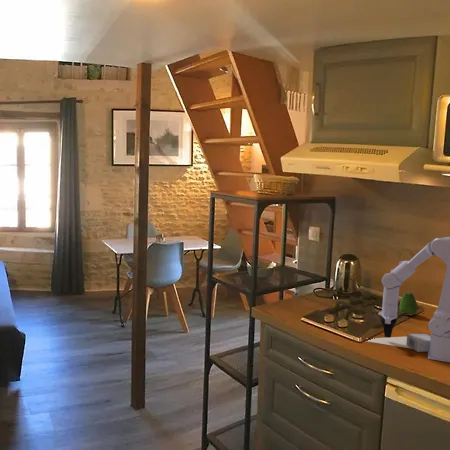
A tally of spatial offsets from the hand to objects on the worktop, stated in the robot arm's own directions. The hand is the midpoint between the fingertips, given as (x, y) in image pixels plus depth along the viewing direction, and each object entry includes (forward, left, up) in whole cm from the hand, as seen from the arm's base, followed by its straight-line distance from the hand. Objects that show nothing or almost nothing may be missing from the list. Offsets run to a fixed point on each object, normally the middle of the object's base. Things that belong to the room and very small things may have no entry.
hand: (387, 336), depth 199 cm
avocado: (-6, -42, -2) cm, 42 cm away
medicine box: (-9, +4, 0) cm, 10 cm away
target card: (0, -6, -2) cm, 6 cm away
